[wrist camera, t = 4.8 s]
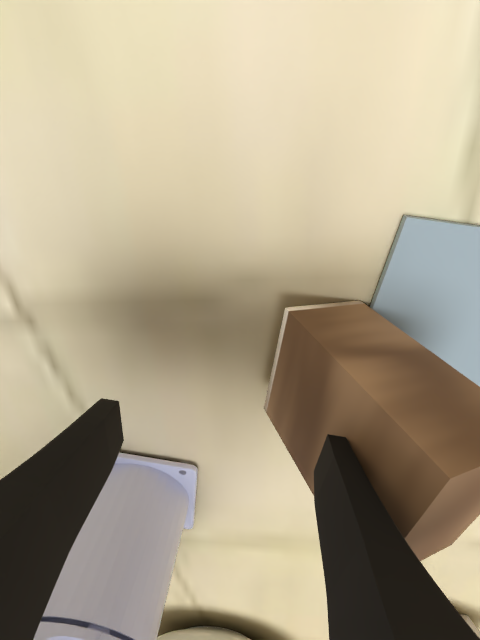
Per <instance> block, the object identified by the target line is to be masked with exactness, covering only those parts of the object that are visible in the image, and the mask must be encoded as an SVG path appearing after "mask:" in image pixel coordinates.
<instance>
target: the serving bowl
mask: <svg viewBox="0 0 480 640" xmlns="http://www.w3.org/2000/svg"><path fill="white" fill-rule="evenodd" d="M157 640H251V639H249V638H247V637H246V636H244V635H242V634H240V633H238V632H235V631H232V630H229V629H225V628H220V627H213V626H196V627H191V628H187V629H183V630H176V631H172V632H168V633H165V634H163V635H160V636H158V637H157Z"/></svg>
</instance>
